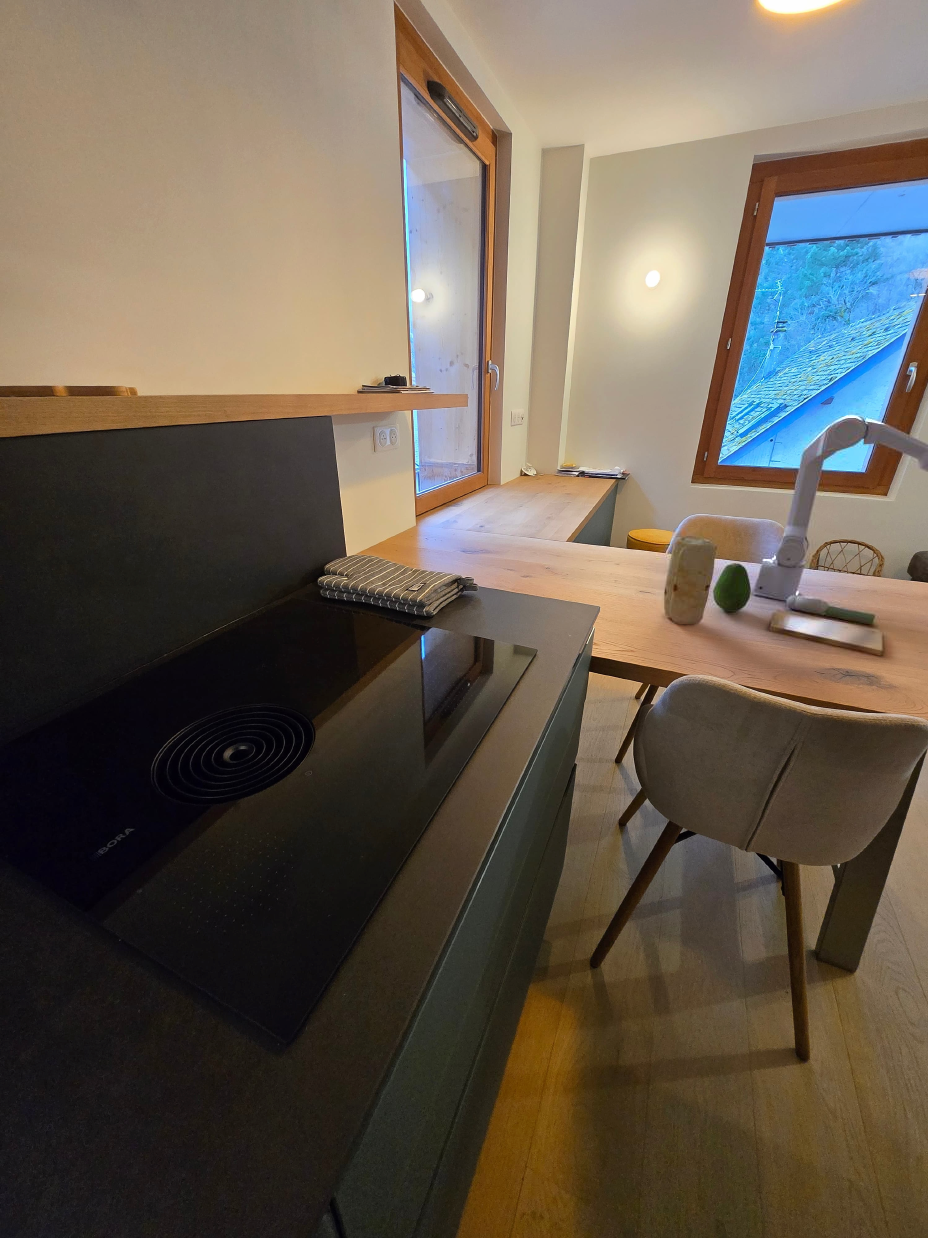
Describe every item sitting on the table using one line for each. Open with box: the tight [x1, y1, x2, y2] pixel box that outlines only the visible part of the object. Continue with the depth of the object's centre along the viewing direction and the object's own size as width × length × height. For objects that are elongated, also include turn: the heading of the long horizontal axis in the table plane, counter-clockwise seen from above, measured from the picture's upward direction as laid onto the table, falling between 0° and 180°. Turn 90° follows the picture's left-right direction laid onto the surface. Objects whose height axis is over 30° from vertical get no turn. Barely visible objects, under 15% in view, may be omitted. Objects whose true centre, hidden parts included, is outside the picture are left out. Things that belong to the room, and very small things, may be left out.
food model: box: [663, 535, 718, 625], centre depth 113 cm, size 10×7×20 cm
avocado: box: [712, 562, 752, 612], centre depth 119 cm, size 8×8×12 cm
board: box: [769, 608, 883, 656], centre depth 110 cm, size 20×11×1 cm, turn 53°
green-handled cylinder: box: [785, 594, 876, 626], centre depth 117 cm, size 17×4×4 cm, turn 53°
